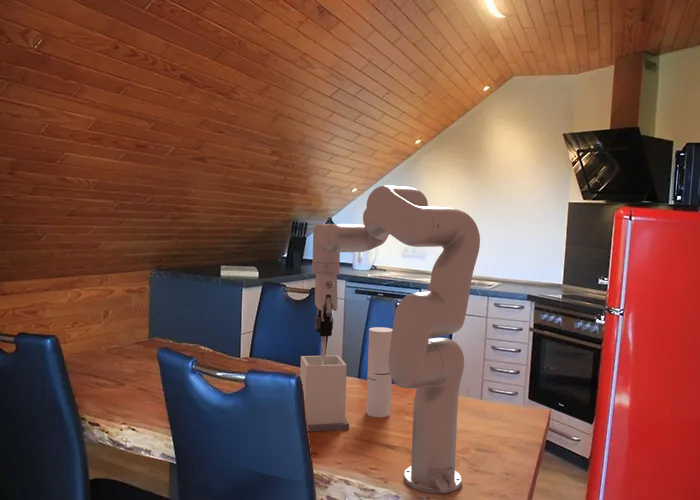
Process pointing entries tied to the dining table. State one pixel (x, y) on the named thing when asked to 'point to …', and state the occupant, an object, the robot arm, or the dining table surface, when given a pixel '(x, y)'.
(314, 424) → the press carafe
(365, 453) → the dining table surface
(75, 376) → the dining table surface
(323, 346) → the plunger
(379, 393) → the cylindrical container
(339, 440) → the dining table surface
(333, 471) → the dining table surface
